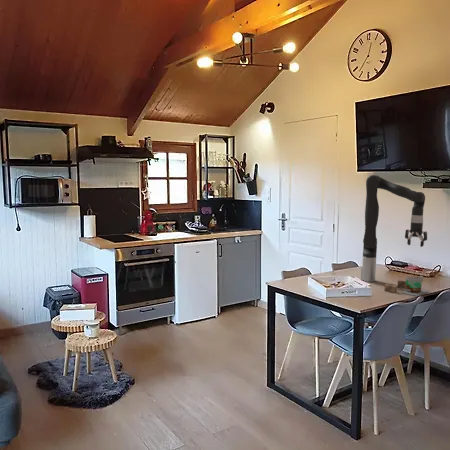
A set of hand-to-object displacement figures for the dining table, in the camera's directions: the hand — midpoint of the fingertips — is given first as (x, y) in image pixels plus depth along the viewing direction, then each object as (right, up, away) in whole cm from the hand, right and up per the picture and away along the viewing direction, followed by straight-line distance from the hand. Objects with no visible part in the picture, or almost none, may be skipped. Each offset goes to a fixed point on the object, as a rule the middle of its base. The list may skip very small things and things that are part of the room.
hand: (415, 245), depth 307 cm
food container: (-5, -29, -13) cm, 33 cm away
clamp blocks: (-14, -29, -4) cm, 32 cm away
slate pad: (-6, -30, -13) cm, 33 cm away
